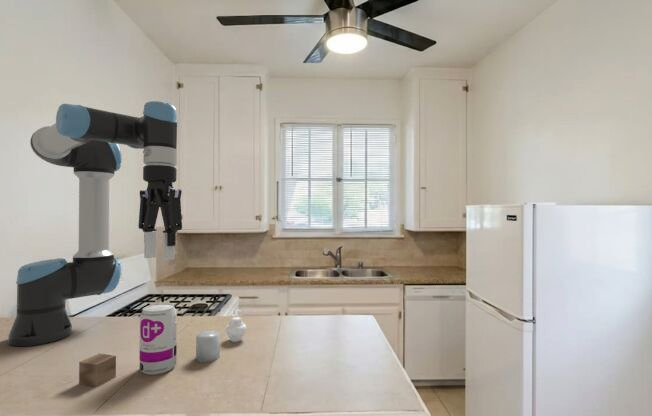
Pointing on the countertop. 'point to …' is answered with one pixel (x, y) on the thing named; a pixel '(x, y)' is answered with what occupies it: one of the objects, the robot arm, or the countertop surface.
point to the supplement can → (158, 339)
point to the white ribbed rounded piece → (236, 329)
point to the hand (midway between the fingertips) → (159, 258)
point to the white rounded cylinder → (207, 346)
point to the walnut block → (97, 370)
